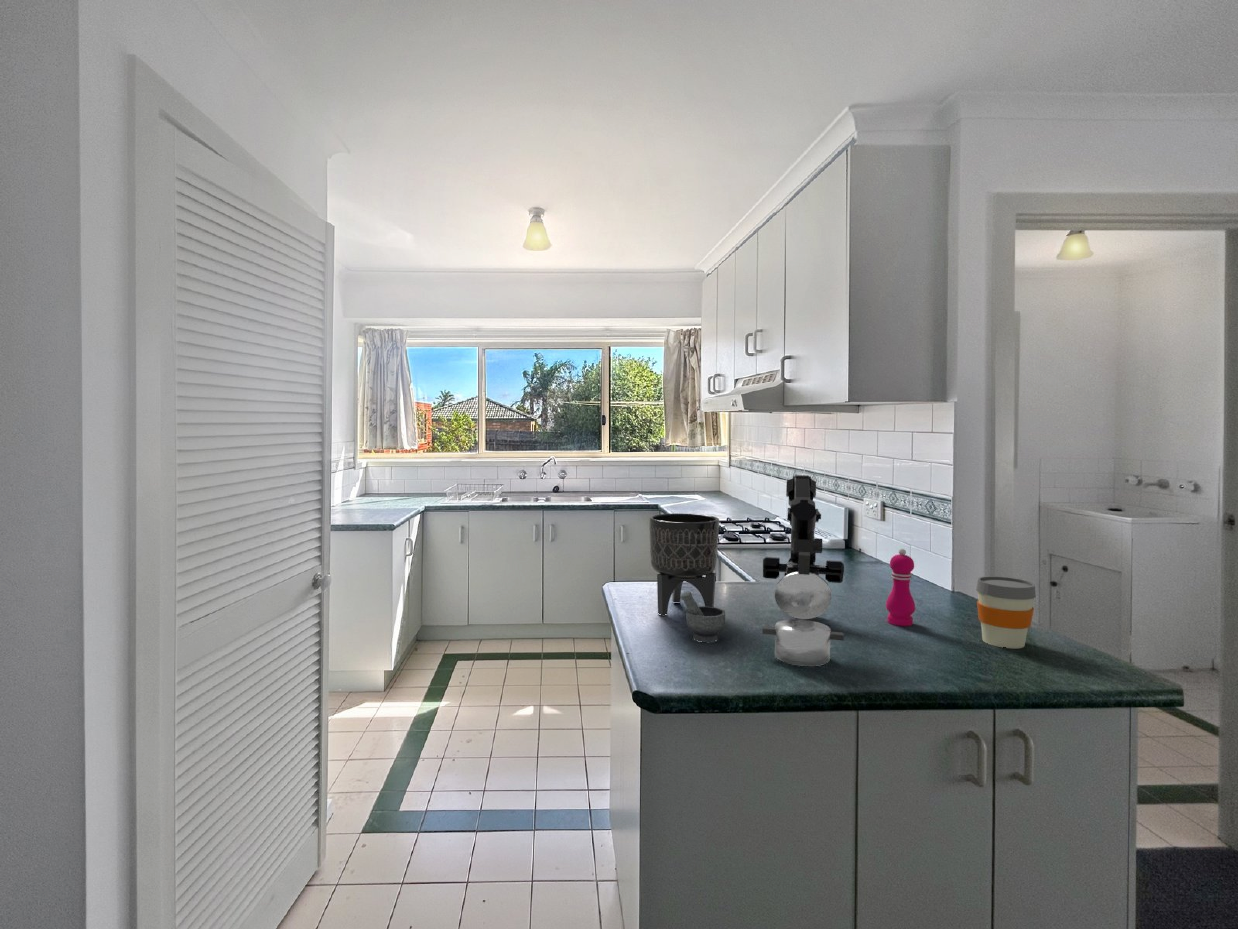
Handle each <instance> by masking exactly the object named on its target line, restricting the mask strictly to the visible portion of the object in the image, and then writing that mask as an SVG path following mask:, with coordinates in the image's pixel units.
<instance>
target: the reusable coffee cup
mask: <svg viewBox="0 0 1238 929" xmlns="http://www.w3.org/2000/svg"><path fill="white" fill-rule="evenodd" d="M975 590H976V592H977V598H978V600H976V606H977V616H978V620H979V622H980V627H981V636H982V638H981V639H982V641H983V642H984V643H986V644H987V643H988V645H990V646H994V647H999V648H1003V647H1006V648H1005V649H1022V648H1024V647H1025V645H1026V641H1027V636H1028V631H1029V629H1030V628H1031V625H1032V620H1033V615H1034V610H1035V608H1034V607H1033V605H1034V599H1036V596H1037V594H1036V585H1035V583H1034V582H1031V581H1028V580H1024V579H1021V578H1015V577H1008V576H995V575H994V576H993V575H992V576H990V575H989V576H988V575H986V576H980V577H978V578H977V582H976V589H975Z"/></svg>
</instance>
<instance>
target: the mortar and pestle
mask: <svg viewBox="0 0 1238 929" xmlns="http://www.w3.org/2000/svg"><path fill="white" fill-rule="evenodd" d="M680 600H682V601H683V602H684V605H685V606H686V608H687V609H685V610H686V612H685V613H686V614H685V620H686V625H687V627H688V629H689V630H690V631H691V633H693V634H692V640H693V639H695V640H698V641H702V642H714V641H715V640H718V634H719V633H721V631H722V630H723V629H724V627H725V623H726V622H725V621H726V611H725V610H724V609H721V608H719V607H716V606H714V607H708V606H705V605H702V606H699V605H698V604H697V602H696V600H695V598H694V597H693V594H692V591H689V590H688V591H684V592H683V593H681V599H680ZM714 643H715V642H714Z"/></svg>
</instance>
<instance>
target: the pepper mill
mask: <svg viewBox="0 0 1238 929" xmlns="http://www.w3.org/2000/svg"><path fill="white" fill-rule="evenodd" d="M889 566H890V569H891V570H892V572H891V578H892V580H893V582H892V583H893V584H892V589H891V591H890V592H889V593H890V594H889V595H888V597H887V599H886V603H885V608H886V610H887V611H888V614H887V618H886V619H887V623H888V624H890V625H893V626H898V627H899V626H900V627H910V626H912V625H913V624H914V618H913V617H912V615H913V614H914V613H915V611H916V605H915V604H916V603H915V600H914V599H913V596H912V594H911V591H910V589H911V588H910V583H911V580H912V576H913V574H912V571H913V570H914V569H915V562H914V559H913V558H912V557H911V556H910V555H907V551H906V549H904V548H901V549H899V550H898V554H895V555H893V556H891V558H890V561H889Z"/></svg>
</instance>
